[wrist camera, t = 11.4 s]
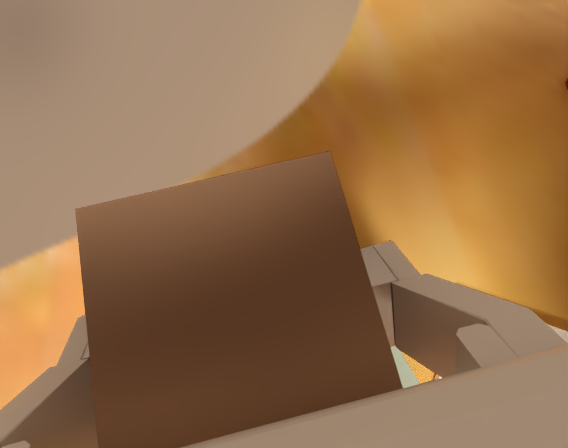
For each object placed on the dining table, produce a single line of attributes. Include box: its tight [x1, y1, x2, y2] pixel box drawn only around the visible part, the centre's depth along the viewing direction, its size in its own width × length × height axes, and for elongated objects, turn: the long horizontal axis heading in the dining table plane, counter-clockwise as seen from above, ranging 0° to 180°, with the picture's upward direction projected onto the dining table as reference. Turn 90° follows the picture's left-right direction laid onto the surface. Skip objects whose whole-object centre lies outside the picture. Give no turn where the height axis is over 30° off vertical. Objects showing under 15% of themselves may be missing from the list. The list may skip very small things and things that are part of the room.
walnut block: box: [75, 151, 403, 448], centre depth 10 cm, size 4×4×8 cm
